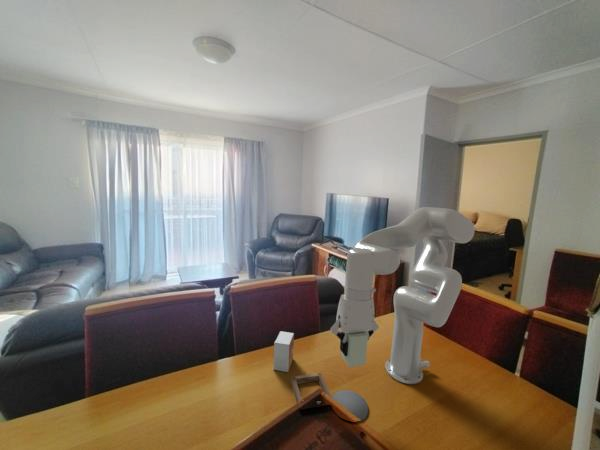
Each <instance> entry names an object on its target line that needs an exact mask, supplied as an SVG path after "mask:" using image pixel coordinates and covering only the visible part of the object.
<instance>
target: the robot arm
mask: <svg viewBox="0 0 600 450" xmlns="http://www.w3.org/2000/svg"><path fill="white" fill-rule="evenodd" d="M475 228H476V227H475V224H474V223H473V222H472V220H471V219H470V218H468V217H467V216H465V215H464V214H463V213H461V212H459V211H457V210H455V209H452V208H445V207H432V206H422V207H419V208H417V209H416V210H414V211H413V212H412V213H411V214H409V215H408V216H407V217H406V218H405V219H403V220H402V221H400V222H399V223H397V224H395V225H391V226H388V227H385V228H382V229H379V230H376V231H373V232H370V233H369V234H367V235H366V236H364V237H363V238H362V239H360V240H359V241H358V242H356V244H355V245H354V246H353V248H350V249H349V250H348V251H347V253H346V254H347V255H346V265H345V278H344V279H345V280H344V291H343V294H342V293H341V295H340V298H339V302H338V306H337V311H336V318H335V319H336V320H335V323H333V325H331V327H330V329H329V330H330V332H331V333H332V334H334V335H335V336H336V338H338V339H339V340H340V343H339V344H340V345H339V351H340V353H341V352H343V354H344V356H347V352H348V342H347V339H348V336H349V334H350V333H357V332H365V333H366V334H367V335H368V340H367V342H368V341H369V340H370V338H371V336H372V335H374V332H376V331H377V330H379V328H380V326H379V324H378V323H377V322H376V321H375V301H374V297H373V293H376V291H377V289H376V287H373V283H374V276H375V275H382V276H383V275H384V276H385V275H391V274H393V273H395V272H396V271H397V270H398V268H399V267H400V264H401V263H400V262H401V259H400V258H401V257H400V256H399V254H398V253H397V252H396V251H395V250H396V249H400V250H401V249H410V248H413V247H416V246H417V245H418V244H419V243H420V242H421V241H422V243H423V248H422V251H421V254H420V255H419V256H418V259H417V261H416V263H415V265H414V266H413V268H412V271H411V273H410V281H411V283H412V284H413V285H414V286H416V287H419V288H421V289H423V290H421V289H418V288H416V287H413V286H408V285H404V286H400V287H398V288H397V289H396V290H395V292H394V294H393V299H392V300H393V308H394V309H393V310H394V321H393V331H392V341H391V342H392V343H391V350H390V358H389V359H387V360H386V362H385V366H384V367H385V370H386V373H387V374H388V375H389V376H390V377H391V378H393V379H394V380H396V381H397V382H399V383H403V384H407V385H417V384H419V383H421V382H422V381H423V380H424V379H423V378H424V373H423V370H422V369H423V368H428V367H430V366H431V363H430V361H429V360H423V359H422V358H421V352H422V345H423V344H422V342H423V336H424V335H423V334H424V326H423V323H424V324H425V325H429V326H431V327H435V328H441V327H443V325H445V324H446V323H447V321H448V319H449V316H450V314H451V312H452V310H453V308H454V306H455V303H456V302H457V299H458V298H459V295H460V293H461V289H462V285H463V278H462V275H461V273H460V272H458V271H457V270H456V269H453V268H450V267H448V266H447V267H446V266H445V264H446V262H447V260H448V258H449V256H448V251H447V249H446V247H445V245H444V243H443V241H447V242H453V243H456V244H457V243H458V244H467V243H468V242H470V241H472V239H473V238H474V236H475ZM393 249H395V250H393ZM424 290H426V291H427V292H426V291H424ZM428 291H429V292H428ZM430 292H432V293H434V294H432V293H430ZM435 294H436V295H435ZM340 328H341V329H340ZM339 329H340V331H339Z"/></svg>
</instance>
